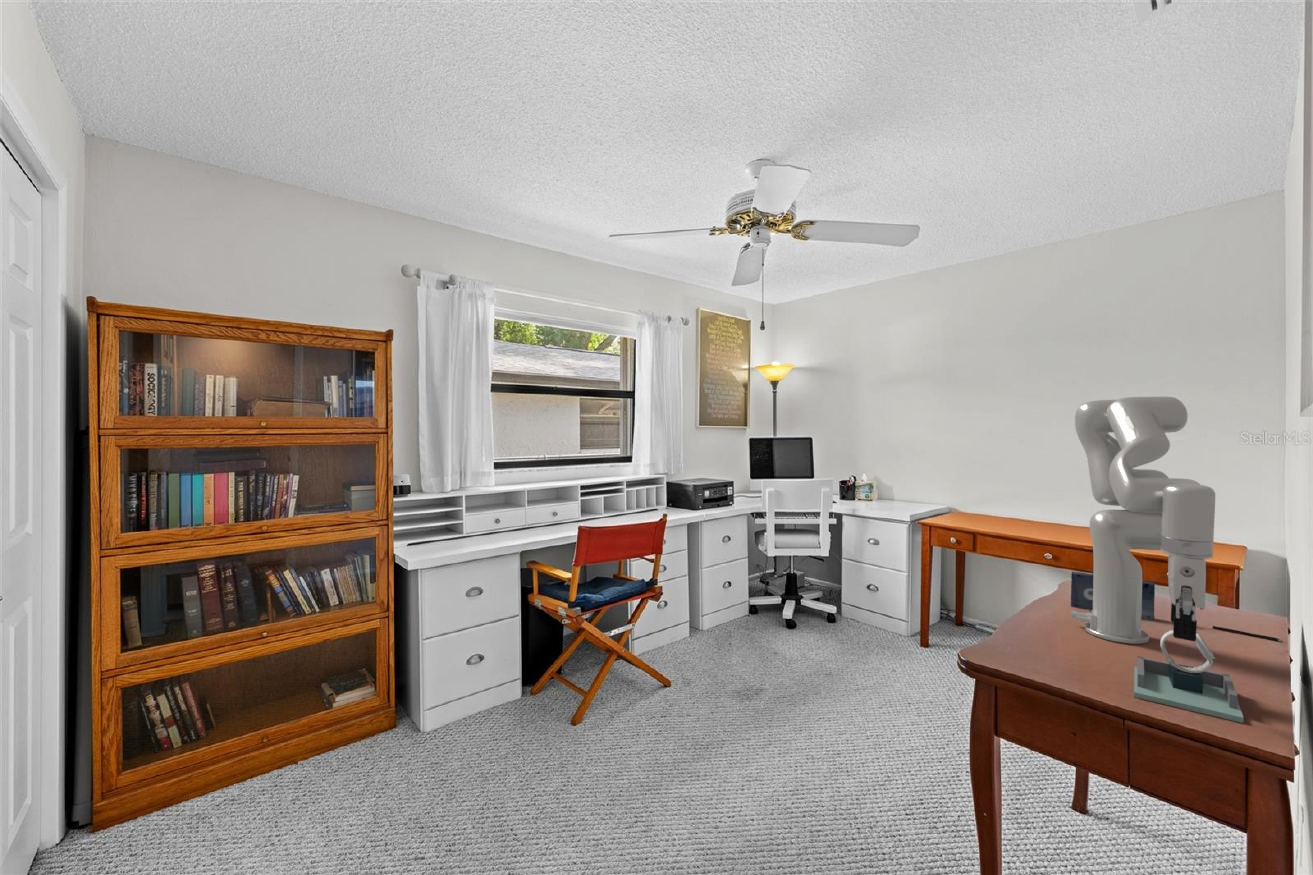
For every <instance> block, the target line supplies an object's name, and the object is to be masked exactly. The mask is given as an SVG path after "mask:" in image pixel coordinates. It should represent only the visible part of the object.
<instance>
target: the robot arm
mask: <svg viewBox="0 0 1313 875" xmlns="http://www.w3.org/2000/svg"><path fill="white" fill-rule="evenodd" d="M1188 415H1189V414H1188V411H1187V408H1186V405H1184V403H1183V402H1182V401H1181V400H1180V399H1179V398H1176V397H1173V396H1129V397H1122V398H1119V399H1100V400H1099V399H1098V400H1092V401H1088V402H1085V403H1082V404H1081V405H1079V406H1078V408H1077V409H1076V411H1075V416H1074V426H1075V431H1076V435H1077V438H1078V440H1079V442H1080V444H1081V446H1082V447H1083V449H1084V452H1085V454H1086V459H1087V465H1088V472H1089V474H1088V475H1089V480H1090V487H1091V493H1092V497H1093V499H1094V500H1095V501H1096V502H1097V503H1098V504H1101V505H1106V506H1113V507H1114V506H1115V507H1121V508H1122V509H1103V510H1099V511H1096V512H1095V513H1094V514H1092V516H1090V520H1089V531H1090V536H1091V542H1092V549H1093V550H1092V551H1093V552H1092V553H1093V572H1092V574H1093V610H1090V611H1091V612H1089V611H1087V612H1080V611H1075V610H1071V613H1070V614H1071V615H1070V617H1071V619H1074V620H1075V621H1078V622H1085V624H1084V629H1085V631H1086V632H1087V633H1089V634H1091V635H1092V636H1095V637H1098V638H1100V639H1103V640H1107V641H1112V642H1114V643H1115V642H1117V643H1122V644H1133V645H1141V644H1146V643H1147V644H1148V642H1149V641H1150V635H1149V634H1148V633H1147V632H1145V631H1144V630H1142V619H1141V613H1142V581H1143V568H1142V565H1141V563H1140V562H1139V561H1138V559H1137V558H1136V557H1135V556H1134V555H1133V554H1132V553H1131V550H1145V551H1147V550H1148V551H1160V552H1162V553H1164V554H1166V555H1168V558H1167V559H1168V560H1167V564H1168V567H1167V568H1168V570H1167V573H1168V574H1167V578H1168V579H1167V580H1168V591H1169V593H1168V594H1169V597H1170V603H1171V605H1170V606H1171V607H1170V608H1171V609H1170V622H1172V623H1173V629H1172V630H1173V632H1172V633H1173V635H1172V636H1173V638H1176V639H1180V640H1185V641H1190V642H1193V641H1196V634H1197V626H1198V625H1197V622H1198V621H1197V620H1196V619H1197V618H1196V615H1197V614H1196V608H1198V609H1200V610H1202V611H1203V610H1205V609H1206V588H1207V587H1206V586H1207V585H1206V582H1207V579H1206V578H1207V573H1206V572H1207V571H1206V570H1207V569H1206V568H1207V566H1206V565H1207V564H1206V560H1207V559H1212V558H1213V556H1214V553H1213V552H1214V540H1215V538H1214V536H1215V514H1216V512H1215V511H1216V492H1215V490H1214V489H1213V488H1212V487H1209V486H1207V485H1204V484H1200V482H1198V481H1196V480H1194V479H1188V478H1173V477H1171V478H1169V477H1168V475H1167V474H1165V472H1162V471H1160V470H1157V469H1145V468H1144V469H1141V468H1140V469H1139V468H1137V467H1140V466H1143V465H1148V464H1149V463H1152V462H1155V461H1157V460H1159V459H1161V458H1163V457H1164V456H1166V455H1167V453H1168V452H1169V450H1170V447H1171V443H1170V442H1171V441H1170V440H1169V438H1168V436H1167V433H1177V432H1179V431H1181V430H1183V429H1184V427H1185V426H1186V424H1187V423H1188V419H1189V418H1188ZM1109 433H1113V434H1114V436H1111V434H1109ZM1136 468H1137V469H1136Z"/></svg>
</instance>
